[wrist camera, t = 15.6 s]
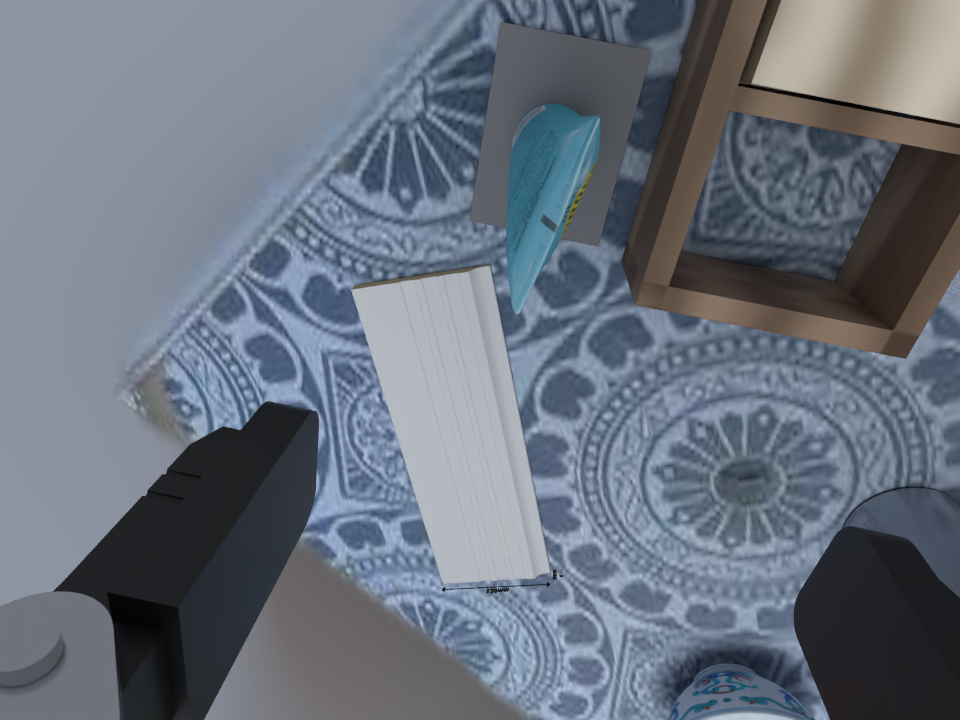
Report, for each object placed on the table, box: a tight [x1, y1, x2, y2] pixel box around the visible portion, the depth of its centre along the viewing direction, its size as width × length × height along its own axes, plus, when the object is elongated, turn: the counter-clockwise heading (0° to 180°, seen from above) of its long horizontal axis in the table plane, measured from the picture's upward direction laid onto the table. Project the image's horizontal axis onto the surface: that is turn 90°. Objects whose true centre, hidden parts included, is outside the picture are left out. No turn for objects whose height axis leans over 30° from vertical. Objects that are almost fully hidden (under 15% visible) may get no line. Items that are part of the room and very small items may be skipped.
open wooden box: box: [622, 0, 960, 359], centre depth 33 cm, size 16×20×8 cm
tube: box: [507, 103, 601, 314], centre depth 29 cm, size 7×5×19 cm, turn 165°
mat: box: [469, 22, 652, 246], centre depth 38 cm, size 9×12×1 cm
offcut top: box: [740, 0, 960, 124], centre depth 29 cm, size 11×5×2 cm, turn 80°
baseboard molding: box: [351, 265, 564, 593], centre depth 50 cm, size 31×3×12 cm
